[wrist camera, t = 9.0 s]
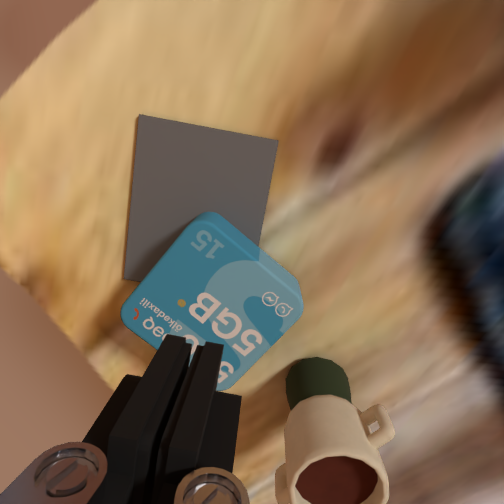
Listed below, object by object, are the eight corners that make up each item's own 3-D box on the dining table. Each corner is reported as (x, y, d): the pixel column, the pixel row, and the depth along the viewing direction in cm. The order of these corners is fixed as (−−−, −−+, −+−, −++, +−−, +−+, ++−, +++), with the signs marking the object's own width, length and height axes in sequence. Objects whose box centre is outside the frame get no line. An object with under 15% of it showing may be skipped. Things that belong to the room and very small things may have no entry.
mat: (278, 140, 32) (278, 140, 32) (247, 300, 36) (247, 301, 36) (140, 114, 32) (139, 114, 32) (125, 277, 36) (123, 278, 36)
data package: (312, 306, 31) (220, 398, 34) (306, 286, 35) (226, 370, 38) (198, 211, 29) (111, 317, 32) (207, 203, 33) (130, 297, 36)
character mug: (296, 431, 40) (308, 559, 28) (252, 386, 39) (245, 499, 26) (380, 374, 38) (435, 487, 25) (337, 325, 37) (373, 417, 24)
